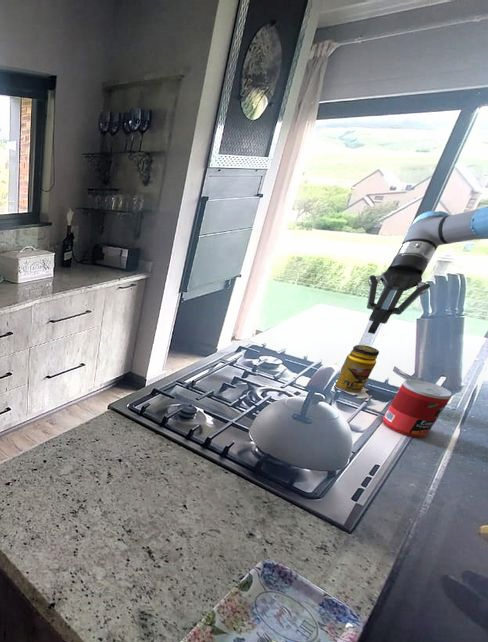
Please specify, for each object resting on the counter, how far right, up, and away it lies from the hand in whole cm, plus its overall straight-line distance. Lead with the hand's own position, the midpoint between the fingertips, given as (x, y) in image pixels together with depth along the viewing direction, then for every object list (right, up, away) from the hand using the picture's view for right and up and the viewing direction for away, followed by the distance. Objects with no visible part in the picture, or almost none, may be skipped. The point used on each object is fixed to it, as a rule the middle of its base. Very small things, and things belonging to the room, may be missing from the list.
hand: (372, 330), depth 112 cm
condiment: (-7, -16, +1) cm, 17 cm away
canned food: (-9, -25, -17) cm, 31 cm away
